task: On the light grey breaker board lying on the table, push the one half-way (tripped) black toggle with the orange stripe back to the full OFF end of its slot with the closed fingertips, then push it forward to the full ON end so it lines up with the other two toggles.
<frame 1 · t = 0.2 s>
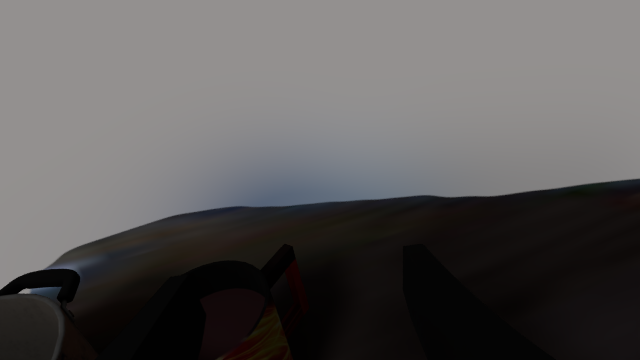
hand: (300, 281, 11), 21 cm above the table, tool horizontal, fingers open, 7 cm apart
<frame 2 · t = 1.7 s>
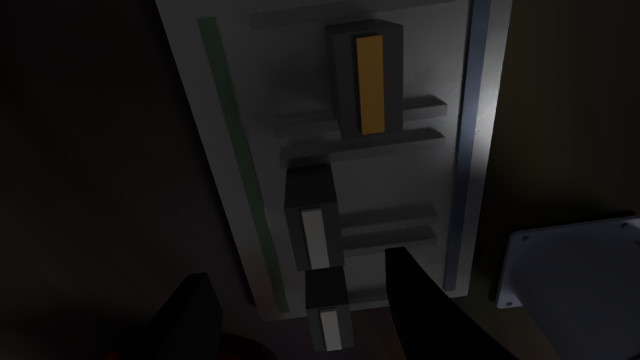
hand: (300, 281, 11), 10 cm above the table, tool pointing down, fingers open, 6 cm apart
breaker A: (314, 216, 17), point 4 cm above the table, slide at 6.0 cm
breaker B: (328, 302, 21), point 3 cm above the table, slide at 6.0 cm
tripped breaker: (362, 76, 14), point 3 cm above the table, slide at 3.0 cm
breaker panel: (351, 178, 20), on the table
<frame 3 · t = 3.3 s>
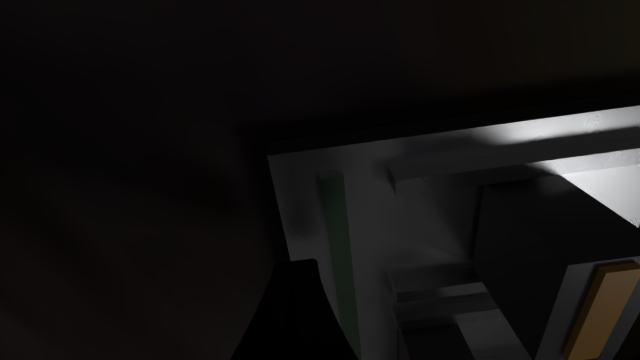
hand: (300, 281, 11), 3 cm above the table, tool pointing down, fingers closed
tripped breaker: (548, 263, 10), point 3 cm above the table, slide at 3.0 cm
breaker panel: (463, 314, 17), on the table
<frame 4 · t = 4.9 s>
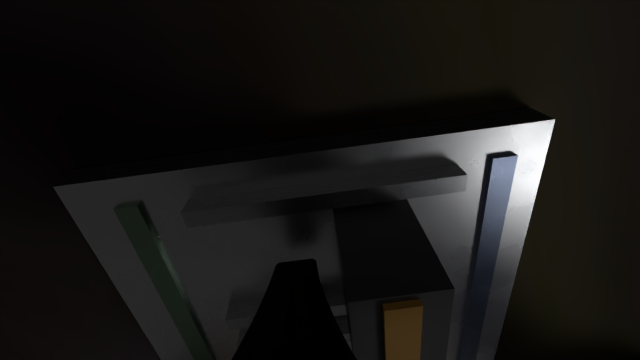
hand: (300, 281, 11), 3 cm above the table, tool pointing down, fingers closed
tripped breaker: (384, 290, 10), point 3 cm above the table, slide at 1.5 cm, touching gripper
breaker panel: (333, 335, 17), on the table
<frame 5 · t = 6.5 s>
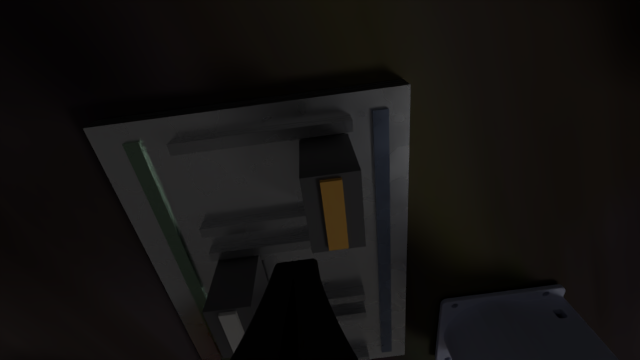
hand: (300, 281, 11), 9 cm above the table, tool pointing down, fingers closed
breaker A: (241, 304, 19), point 4 cm above the table, slide at 6.0 cm
tripped breaker: (331, 191, 15), point 4 cm above the table, slide at 0.0 cm
breaker panel: (285, 257, 22), on the table
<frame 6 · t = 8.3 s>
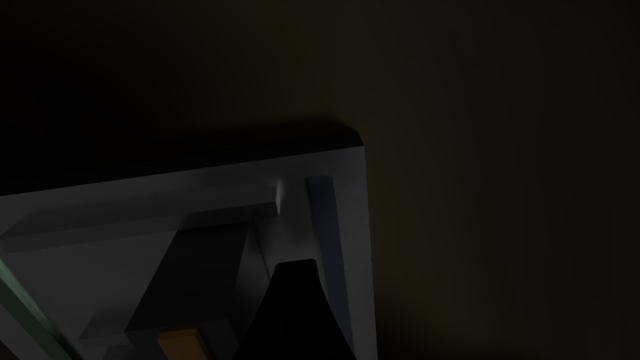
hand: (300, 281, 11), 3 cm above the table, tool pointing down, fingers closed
tripped breaker: (217, 312, 10), point 4 cm above the table, slide at 0.9 cm, touching gripper
breaker panel: (220, 350, 17), on the table
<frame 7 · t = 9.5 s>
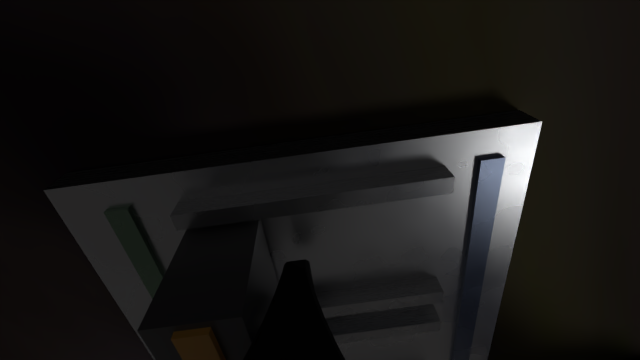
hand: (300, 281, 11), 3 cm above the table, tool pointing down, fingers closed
tripped breaker: (227, 311, 10), point 3 cm above the table, slide at 6.2 cm, touching gripper
breaker panel: (326, 336, 17), on the table
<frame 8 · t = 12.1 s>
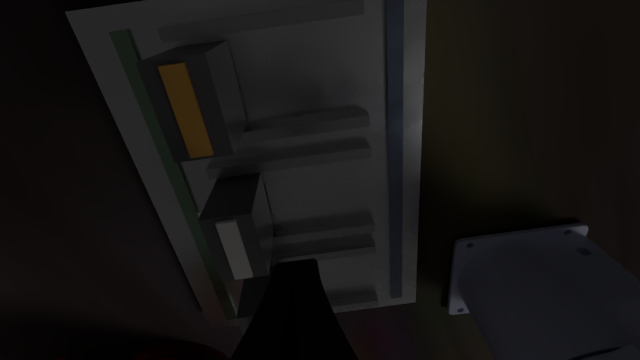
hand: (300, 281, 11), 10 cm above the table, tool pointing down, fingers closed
breaker A: (241, 225, 17), point 3 cm above the table, slide at 6.0 cm
breaker B: (267, 310, 21), point 3 cm above the table, slide at 6.0 cm
tripped breaker: (201, 99, 14), point 4 cm above the table, slide at 6.0 cm
breaker panel: (288, 186, 20), on the table
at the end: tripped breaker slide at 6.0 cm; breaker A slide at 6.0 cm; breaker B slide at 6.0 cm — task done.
